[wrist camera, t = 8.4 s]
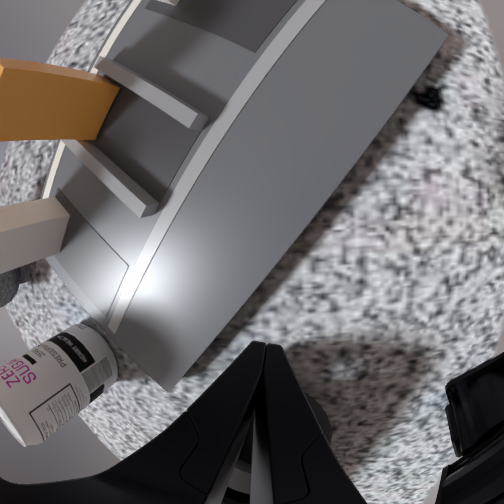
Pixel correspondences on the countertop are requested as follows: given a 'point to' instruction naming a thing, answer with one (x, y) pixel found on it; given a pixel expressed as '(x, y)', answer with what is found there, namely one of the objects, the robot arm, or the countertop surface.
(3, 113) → the orange tall block
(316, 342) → the countertop surface
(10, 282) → the mortar and pestle
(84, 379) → the supplement can
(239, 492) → the muzzle brake
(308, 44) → the slotted gray tray
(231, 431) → the robot arm
